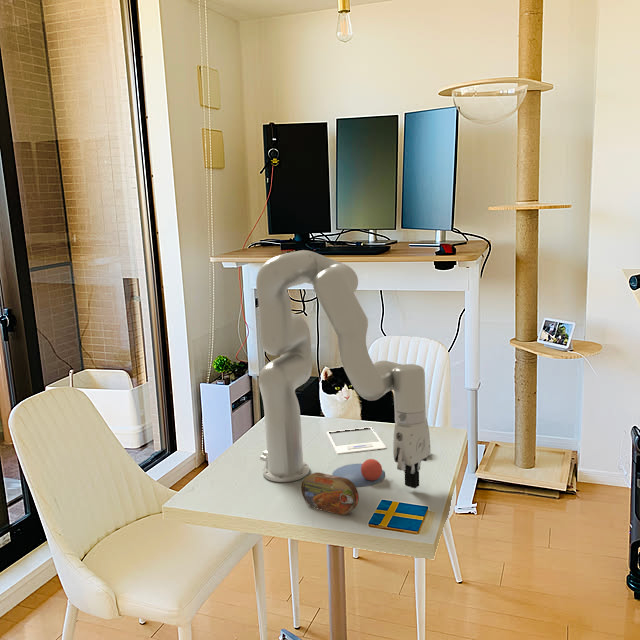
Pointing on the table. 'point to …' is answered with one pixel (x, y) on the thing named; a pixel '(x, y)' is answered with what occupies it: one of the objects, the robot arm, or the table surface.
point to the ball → (371, 469)
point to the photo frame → (357, 445)
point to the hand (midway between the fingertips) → (412, 485)
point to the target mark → (355, 475)
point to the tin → (330, 493)
